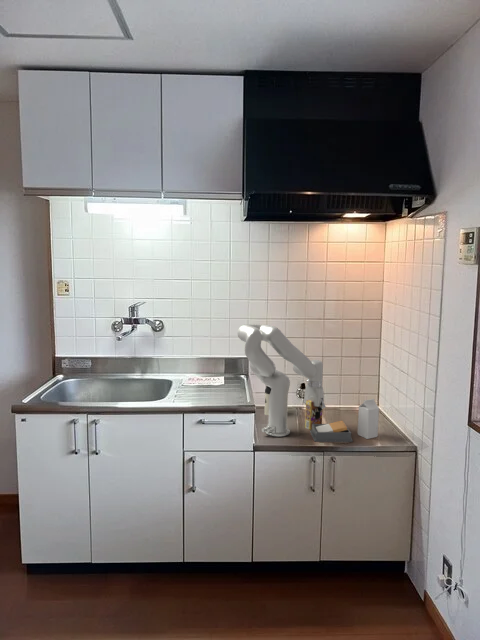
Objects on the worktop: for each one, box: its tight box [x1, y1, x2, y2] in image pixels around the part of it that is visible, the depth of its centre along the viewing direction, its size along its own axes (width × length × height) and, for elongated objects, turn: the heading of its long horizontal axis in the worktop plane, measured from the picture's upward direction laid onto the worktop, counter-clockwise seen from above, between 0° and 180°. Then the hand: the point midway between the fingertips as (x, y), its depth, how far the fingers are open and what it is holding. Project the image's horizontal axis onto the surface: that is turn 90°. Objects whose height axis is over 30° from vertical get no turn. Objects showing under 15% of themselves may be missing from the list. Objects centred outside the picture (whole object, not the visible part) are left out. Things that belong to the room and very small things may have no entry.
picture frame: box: [316, 420, 348, 432], centre depth 243 cm, size 14×10×2 cm
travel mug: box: [263, 385, 271, 417], centre depth 276 cm, size 8×8×18 cm
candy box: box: [304, 400, 323, 431], centre depth 256 cm, size 9×4×15 cm, turn 125°
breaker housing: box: [309, 423, 353, 443], centre depth 243 cm, size 19×13×4 cm
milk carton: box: [357, 398, 380, 440], centre depth 244 cm, size 7×7×19 cm
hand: (313, 416), depth 256 cm, fingers closed on candy box, 4 cm apart
